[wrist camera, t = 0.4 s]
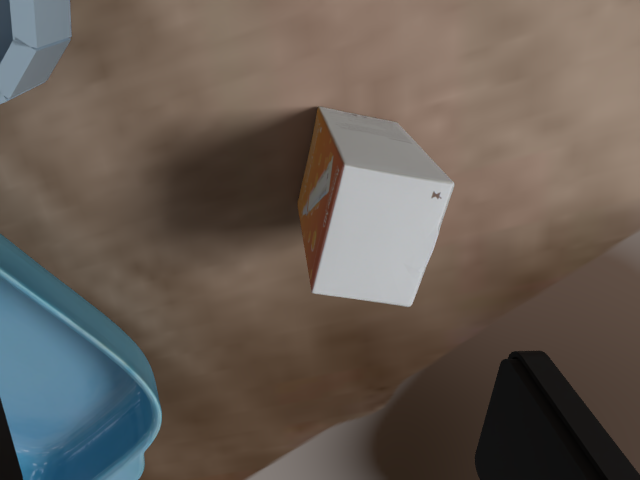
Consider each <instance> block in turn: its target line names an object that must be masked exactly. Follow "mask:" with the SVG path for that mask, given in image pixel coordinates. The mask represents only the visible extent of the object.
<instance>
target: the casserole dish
mask: <svg viewBox="0 0 640 480" xmlns="http://www.w3.org/2000/svg"><path fill="white" fill-rule="evenodd" d="M0 398H1V401H2V405H3V408H4V412H5V415H6V419H7V423H8V426H9V430H10V433H11V437H12V440H13V444H14V447H15V451H16V454H17V458H18V461H19V465H20V468H21V472H22V475H23V480H138V479H139V478H140V477H141V475H142V473H143V470H144V466H145V460H144V452H145V450H146V449H147V448H148V447H149V446H150V445H151V443H152V442H153V440H154V439H155V437H156V436H157V434H158V432H159V429H160V426H161V421H162V412H161V406H160V402H159V397H158V392H157V387H156V383H155V379H154V375H153V372H152V369H151V367H150V365H149V362H148V360H147V359H146V357H145V355H144V354H143V352H142V351H141V350H140V348H139V347H138V346H137V345H136V343H135V342H134V341H133V340H132V339H131V338H130V337H129V336H128V335H127V334H126V333H125V332H124V331H123V330H122V329H121V328H119V327H118V326H117V325H116V324H115V323H114V322H112V321H111V320H110V319H109V318H108V317H107V316H105V315H104V314H103V313H102V312H100V311H99V310H98V309H97V308H95V307H94V306H93V305H91V304H90V303H89V302H88V301H86V300H85V299H84V298H82V297H81V296H80V295H78V294H77V293H76V292H75V291H73V290H72V289H71V288H69V287H68V286H67V285H65V284H64V283H63V282H62V281H60V280H59V279H58V278H56V277H55V276H54V275H52V274H51V273H50V272H48V271H47V270H46V269H45V268H43V267H42V266H41V265H39V264H38V263H37V262H36V261H34V260H33V259H32V258H31V257H29V256H28V255H27V254H26V253H24V252H23V251H22V250H20V249H19V248H18V247H17V246H15V245H14V244H13V243H12V242H10V241H9V240H8V239H7V238H5V237H4V236H3V235H1V234H0Z"/></svg>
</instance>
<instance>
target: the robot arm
mask: <svg viewBox="0 0 640 480" xmlns="http://www.w3.org/2000/svg"><path fill="white" fill-rule="evenodd" d="M475 465H476V470H477V473H478V476H479V478H480V480H640V475H639V473H638V472H637V471H636V470H635V468H634V467H633V466H632V464H631V463H630V462H629V460H628V459H627V458H626V456H625V455H624V454H623V453H622V451H621V450H620V449H619V447H618V446H617V445H616V444H615V442H614V441H613V440H612V438H611V437H610V436H609V434H608V433H607V432H606V431H605V429H604V428H603V427H602V425H601V424H600V423H599V421H598V420H597V419H596V418H595V416H594V415H593V414H592V412H591V411H590V410H589V408H588V407H587V406H586V405H585V403H584V402H583V401H582V399H581V398H580V397H579V396H578V394H577V393H576V392H575V390H574V389H573V388H572V386H571V385H570V384H569V382H568V381H567V380H566V379H565V377H564V376H563V375H562V373H561V372H560V371H559V369H558V368H557V367H556V366H555V364H554V363H553V362H552V360H550V358H549V357H548V355H546V354H545V353H544V352H542V351H515V352H512V353H511V354H510V355H509V357H508V359H504V360H503V361H502V362H501V364H500V367H499V371H498V374H497V378H496V381H495V385H494V389H493V392H492V396H491V400H490V403H489V407H488V410H487V414H486V417H485V421H484V425H483V428H482V432H481V436H480V439H479V443H478V446H477V450H476V454H475ZM0 480H23V475H22V472H21V468H20V465H19V461H18V458H17V454H16V451H15V447H14V444H13V440H12V437H11V433H10V430H9V426H8V423H7V419H6V415H5V412H4V408H3V405H2V401H1V398H0Z"/></svg>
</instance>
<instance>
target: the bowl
mask: <svg viewBox="0 0 640 480" xmlns="http://www.w3.org/2000/svg"><path fill="white" fill-rule="evenodd" d="M69 37H72V35H71V13H70V0H0V104H2V103H4V102H6V101H8V100H10V99H12V98H14V97H16V96H18V95H20V94H22V93H24V92H26V91H28V90H30V89H32V88H34V87H36V86H38V85H40V84H42V83H44V82H45V81H47V80H48V78H49V76H50V74H51V73H52V71H53V69H54V68H55V66H56V64H57V63H58V61H59V59H60V57H61V56H62V54H63V52H64V51H65V49H66V47H67V45H68V44H69V42H70V40H71V39H70V38H69Z"/></svg>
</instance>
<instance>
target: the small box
mask: <svg viewBox="0 0 640 480" xmlns="http://www.w3.org/2000/svg"><path fill="white" fill-rule="evenodd" d="M453 188H454V182H453V181H452V180H451V179H450V178H449V177H448V176H447V175H446V174H445V173H444V172H443V171H442V170H441V169H440V168H439V166H438V165H437V164H436V163H435V162H434V161H433V160H432V159H431V158H430V157H429V156H428V155H427V154H426V153H425V152H424V150H423V149H422V148H421V147H420V146H419V145H418V144H417V143H416V142H415V141H414V140H413V139H412V137H411V136H410V135H409V134H408V133H407V132H406V131H405V130H404V129H403V128H402V127H401V126H400V125H399V124H398V123H397V122H393V121H388V120H382V119H378V118H373V117H368V116H362V115H358V114H353V113H348V112H343V111H339V110H334V109H329V108H324V107H318V108H317V114H316V120H315V126H314V131H313V136H312V141H311V145H310V150H309V155H308V160H307V164H306V169H305V173H304V177H303V182H302V186H301V191H300V195H299V199H298V203H297V205H298V211H299V217H300V223H301V229H302V235H303V241H304V247H305V253H306V260H307V265H308V272H309V278H310V284H311V292H312V293H315V294H322V295H329V296H337V297H344V298H352V299H359V300H366V301H373V302H379V303H386V304H393V305H399V306H405V307H410V306H411V305H412V303H413V301H414V298H415V296H416V293H417V290H418V288H419V285H420V282H421V280H422V277H423V274H424V271H425V269H426V266H427V263H428V261H429V259H430V257H431V254H432V252H433V249H434V246H435V244H436V240H437V237H438V234H439V230H440V226H441V223H442V220H443V217H444V214H445V211H446V209H447V205H448V202H449V199H450V197H451V194H452V191H453Z"/></svg>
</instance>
